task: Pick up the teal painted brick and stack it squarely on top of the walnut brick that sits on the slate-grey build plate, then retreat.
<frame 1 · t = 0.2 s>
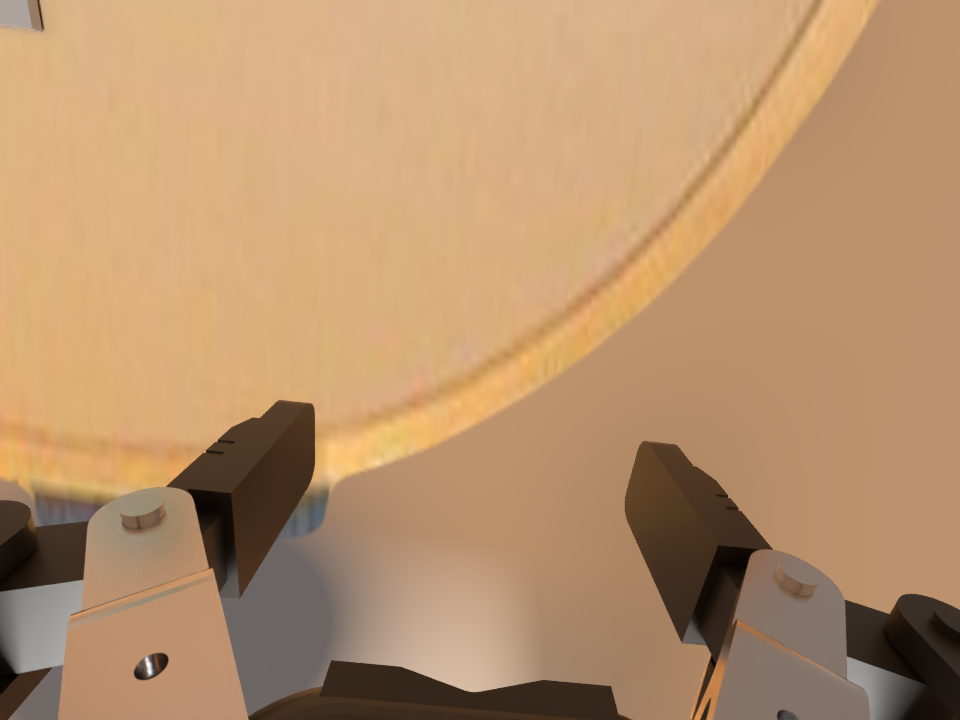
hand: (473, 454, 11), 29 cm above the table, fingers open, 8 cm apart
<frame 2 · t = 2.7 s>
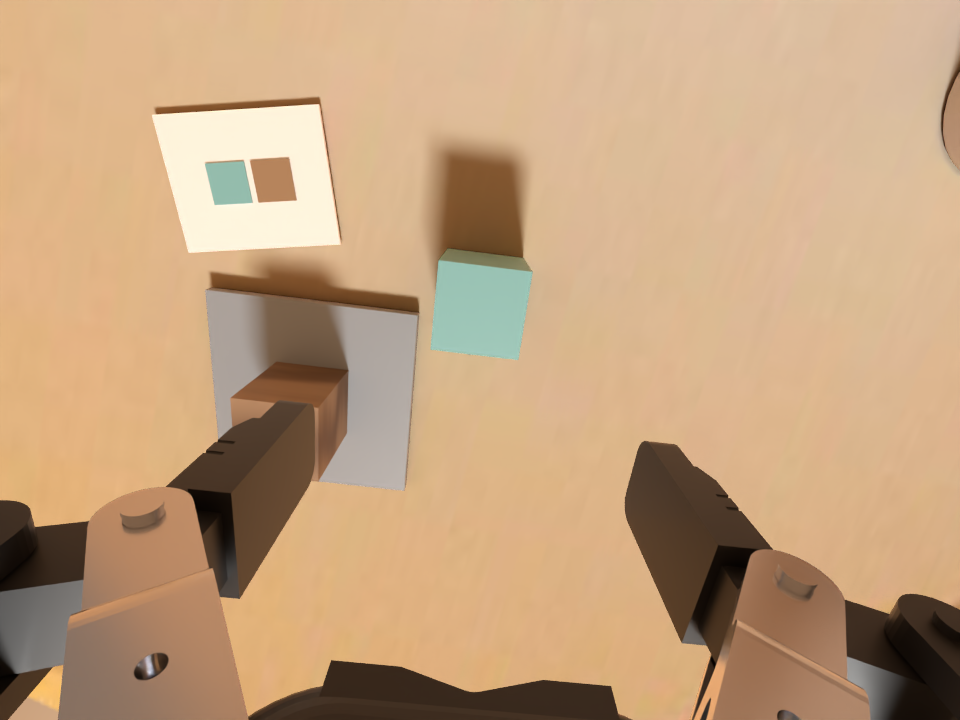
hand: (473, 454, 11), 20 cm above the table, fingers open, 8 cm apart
instruction page: (251, 182, 28), on the table
walnut brick: (312, 398, 32), point 1 cm above the table, touching build plate
build plate: (316, 393, 33), on the table
teal brick: (480, 290, 30), on the table
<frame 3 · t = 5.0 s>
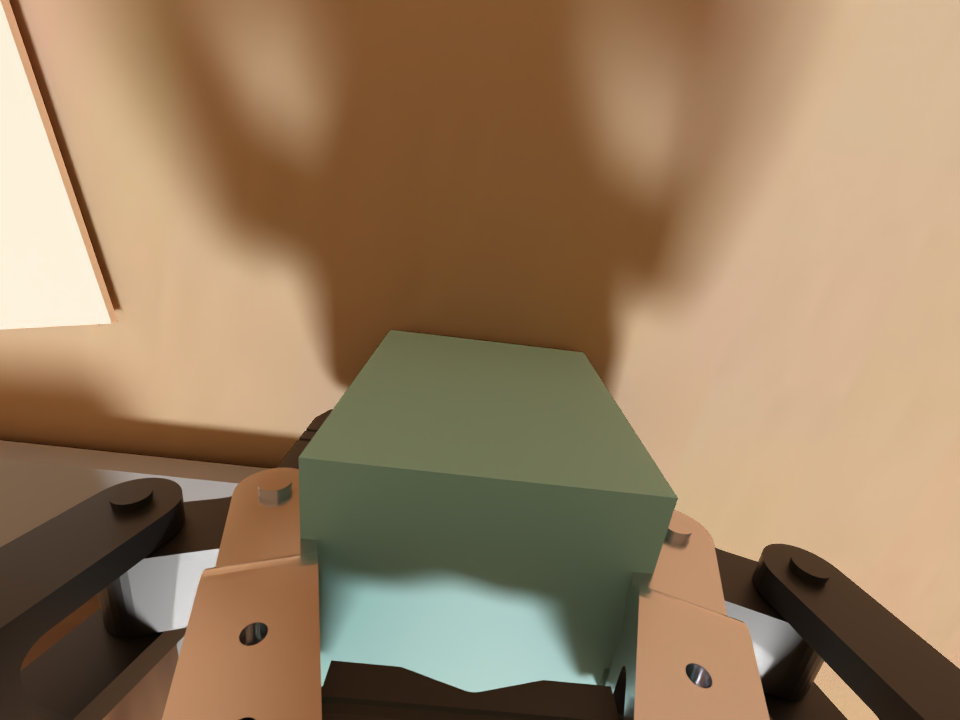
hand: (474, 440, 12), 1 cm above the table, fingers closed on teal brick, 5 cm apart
walnut brick: (99, 653, 14), point 1 cm above the table, touching build plate
build plate: (118, 630, 15), on the table
teal brick: (476, 427, 12), on the table, touching gripper
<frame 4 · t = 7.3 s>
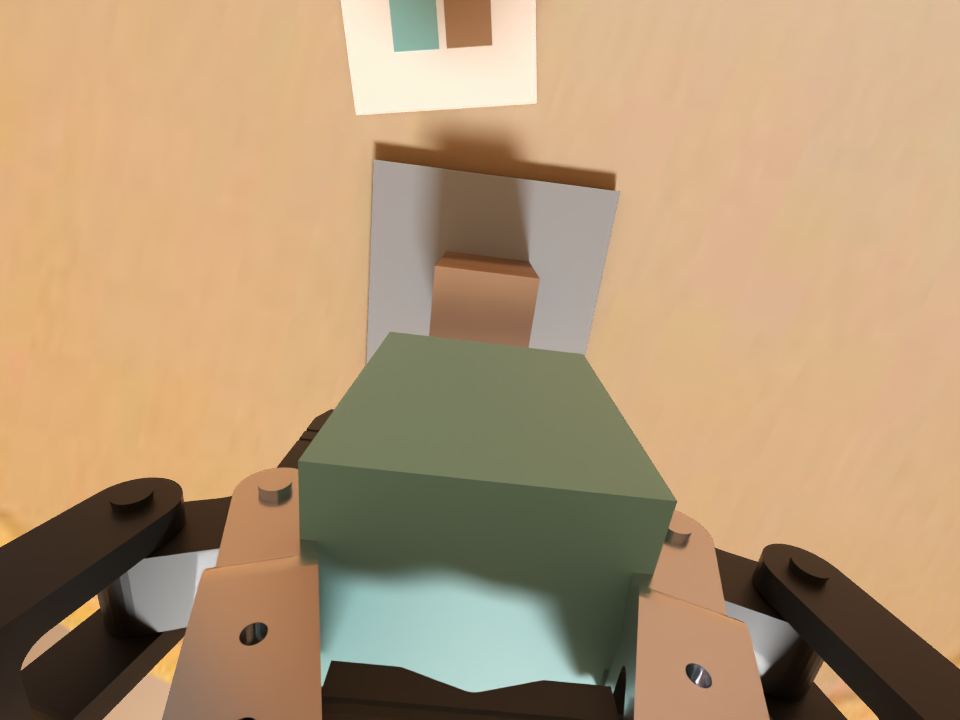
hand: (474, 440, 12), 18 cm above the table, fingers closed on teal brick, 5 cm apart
instruction page: (439, 23, 24), on the table
walnut brick: (482, 297, 28), point 1 cm above the table, touching build plate
build plate: (482, 294, 28), on the table
teal brick: (475, 428, 12), point 17 cm above the table, touching gripper
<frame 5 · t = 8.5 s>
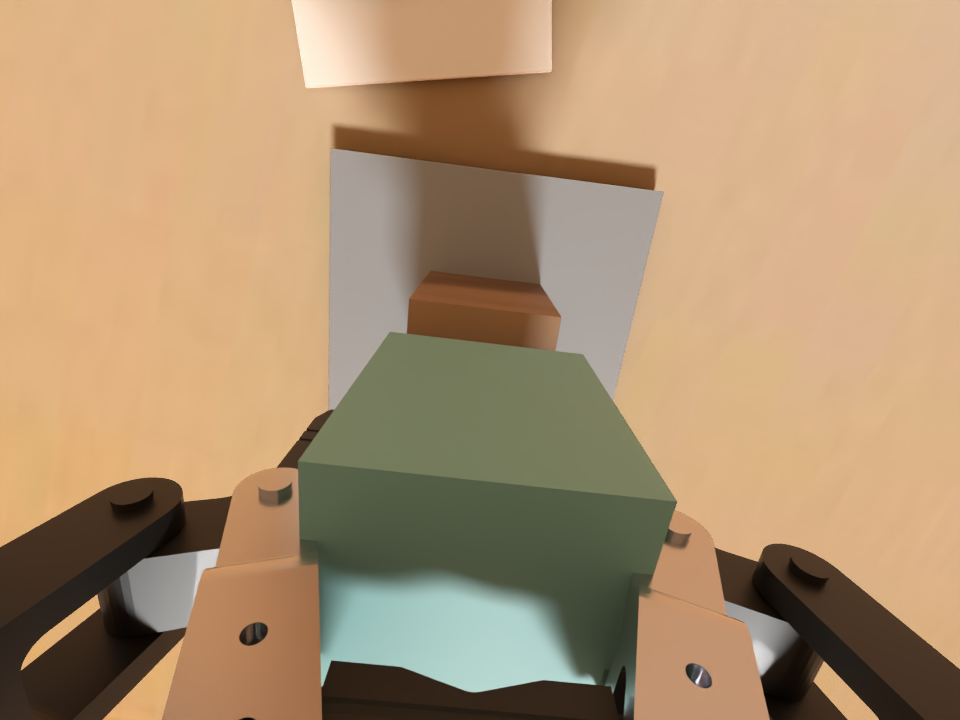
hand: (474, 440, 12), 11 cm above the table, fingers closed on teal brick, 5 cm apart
walnut brick: (479, 330, 21), point 1 cm above the table, touching build plate
build plate: (479, 326, 22), on the table
teal brick: (475, 428, 12), point 10 cm above the table, touching gripper
when the fingers open (8 cm above the table, at t = 9.5 s): teal brick stays where it is, resting on walnut brick.
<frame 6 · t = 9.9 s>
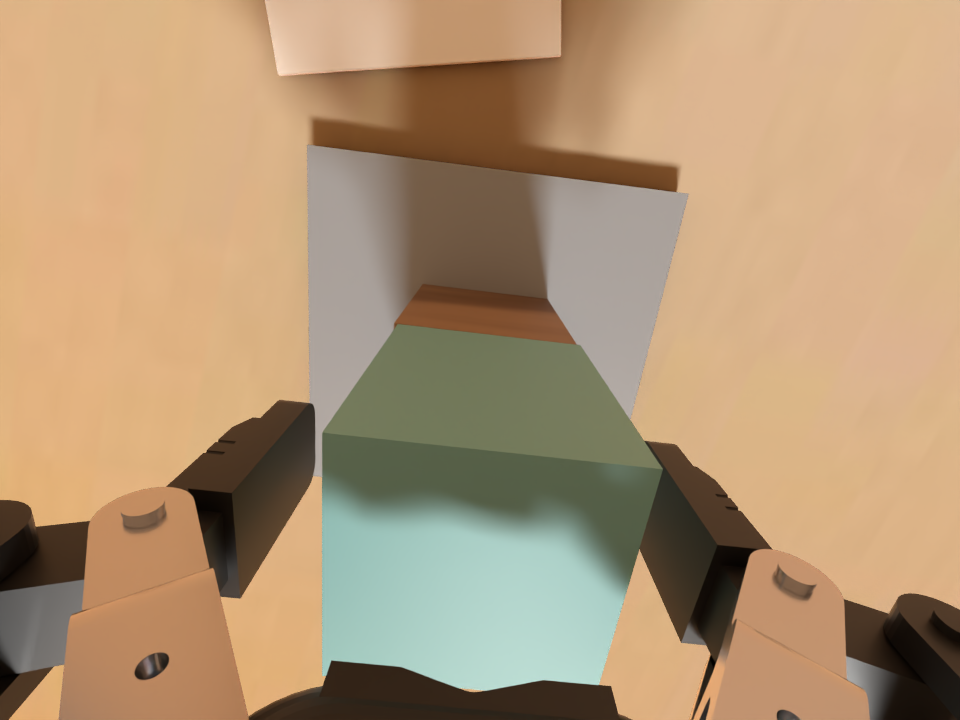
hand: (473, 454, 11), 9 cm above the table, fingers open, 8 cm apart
walnut brick: (478, 350, 19), point 1 cm above the table, touching build plate, teal brick
build plate: (478, 344, 19), on the table
teal brick: (478, 416, 13), point 7 cm above the table, touching walnut brick
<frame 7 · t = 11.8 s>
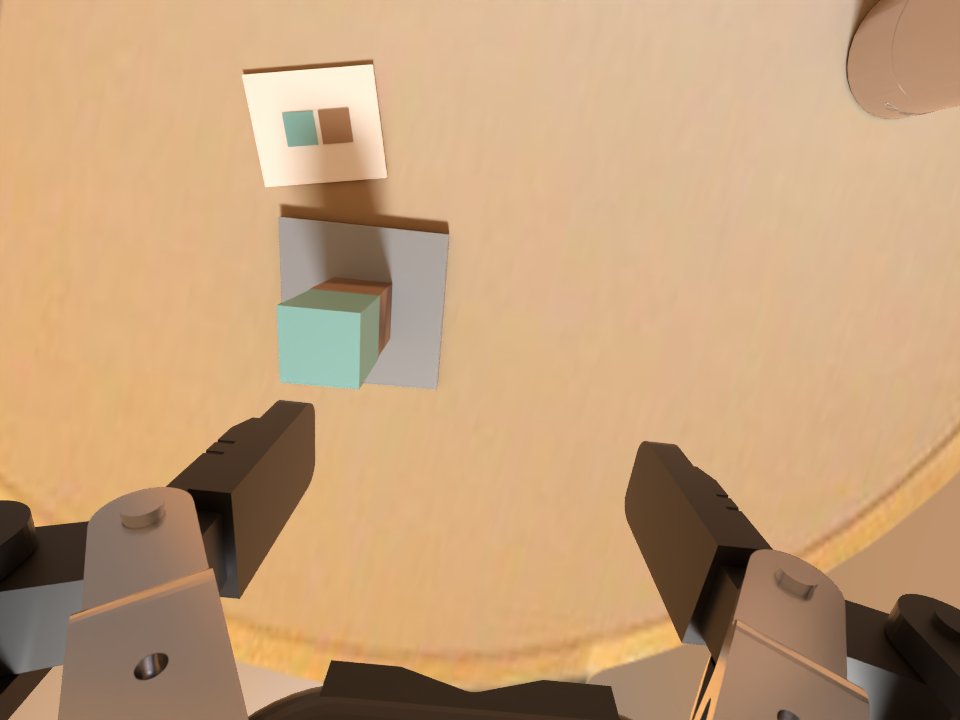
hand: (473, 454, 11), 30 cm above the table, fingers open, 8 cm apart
instruction page: (317, 128, 35), on the table
walnut brick: (362, 308, 39), point 1 cm above the table, touching build plate, teal brick
build plate: (364, 306, 40), on the table
teal brick: (345, 325, 34), point 7 cm above the table, touching walnut brick
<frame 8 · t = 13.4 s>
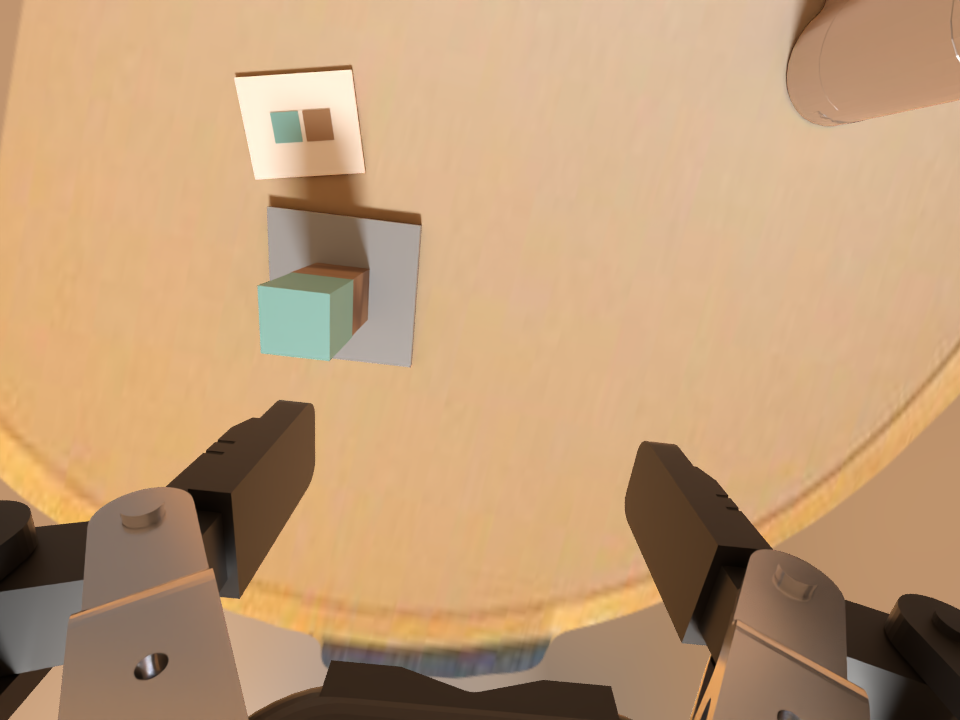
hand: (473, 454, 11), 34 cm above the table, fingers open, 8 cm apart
instruction page: (302, 126, 39), on the table
walnut brick: (342, 291, 43), point 1 cm above the table, touching build plate, teal brick
build plate: (345, 290, 44), on the table
teal brick: (322, 305, 38), point 7 cm above the table, touching walnut brick
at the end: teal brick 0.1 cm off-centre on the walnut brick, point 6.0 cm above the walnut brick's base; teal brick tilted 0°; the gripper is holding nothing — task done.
